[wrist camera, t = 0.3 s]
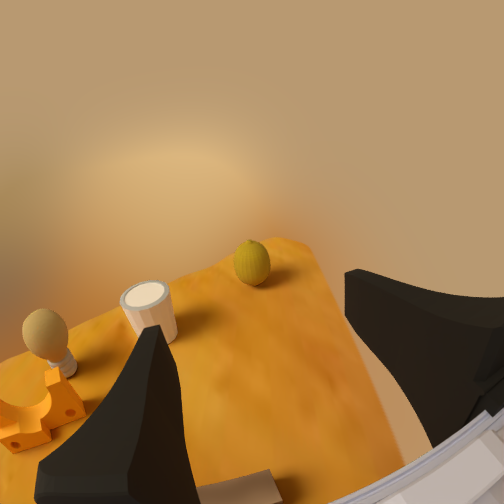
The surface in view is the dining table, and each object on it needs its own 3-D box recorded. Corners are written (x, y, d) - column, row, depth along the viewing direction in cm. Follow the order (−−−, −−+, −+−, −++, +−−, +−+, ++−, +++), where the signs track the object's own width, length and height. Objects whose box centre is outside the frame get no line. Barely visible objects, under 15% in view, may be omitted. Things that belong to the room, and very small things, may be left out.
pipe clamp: (14, 454, 22) (-19, 422, 19) (11, 429, 26) (-18, 396, 23) (90, 427, 28) (62, 392, 25) (83, 401, 31) (58, 366, 28)
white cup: (132, 328, 43) (117, 289, 40) (175, 313, 46) (163, 274, 43) (140, 357, 38) (122, 316, 35) (188, 340, 40) (174, 298, 37)
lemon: (257, 299, 47) (251, 252, 43) (230, 289, 50) (222, 243, 46) (279, 281, 50) (275, 236, 47) (252, 272, 54) (246, 229, 50)
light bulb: (43, 375, 34) (8, 320, 30) (71, 350, 39) (42, 295, 35) (64, 395, 32) (26, 337, 27) (95, 365, 37) (64, 306, 32)
